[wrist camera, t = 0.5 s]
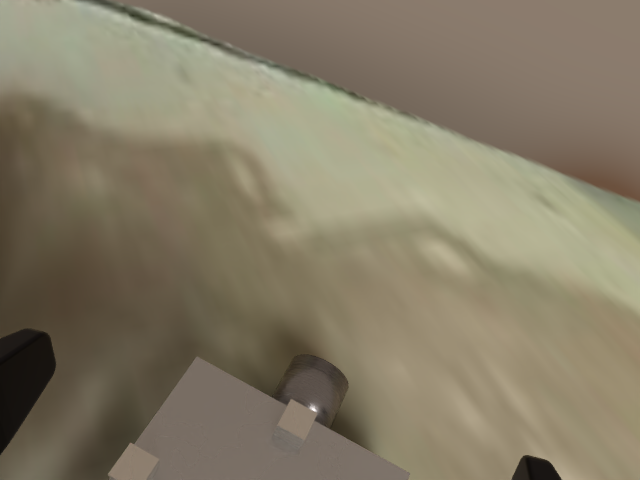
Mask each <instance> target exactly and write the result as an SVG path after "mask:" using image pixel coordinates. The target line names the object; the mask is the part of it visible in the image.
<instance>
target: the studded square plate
mask: <svg viewBox="0 0 640 480" xmlns="http://www.w3.org/2000/svg"><path fill="white" fill-rule="evenodd" d="M347 390H348V381H347V379H346V377H345V376H344V374H343V373H342V372H341V371H340V370H339V369H338V368H336V367H335V366H334V365H332V364H331V363H329V362H327V361H326V360H324V359H321V358H319V357H316V356H312V355H298V356H295V357H294V358H293V360H292V361H291V363H290V365H289V367H288V369H287V370H286V372H285V374H284V376H283V378H282V379H281V381H280V383H279V385H278V387H277V388H276V390H275V392H274V394H273V396H272V397H270V396H268V395H267V394H265V393H263V392H261V391H259V390H257V389H256V388H254V387H252V386H250V385H248V384H247V383H245V382H243V381H241V380H239V379H237V378H236V377H234V376H232V375H230V374H228V373H226V372H225V371H223V370H221V369H219V368H217V367H216V366H214V365H212V364H210V363H208V362H206V361H205V360H203V359H201V358H199V357H196V358H195V360H194V361H193V362H192V364H191V365H190V367H189V368H188V369H187V371H186V372H185V374H184V375H183V376H182V378H181V379H180V381H179V382H178V383H177V385H176V386H175V388H174V389H173V390H172V392H171V393H170V395H169V396H168V397H167V399H166V400H165V402H164V403H163V404H162V406H161V407H160V409H159V410H158V411H157V413H156V414H155V416H154V417H153V418H152V420H151V421H150V423H149V424H148V425H147V427H146V428H145V430H144V431H143V432H142V434H141V435H140V437H139V438H138V439H137V441H136V442H135V444H132V443H130V444H129V445H128V447H127V448H126V450H125V451H124V452H123V454H122V455H121V457H120V458H119V459H118V461H117V462H116V463H115V465H114V466H113V468H112V469H111V470H110V472H109V473H108V477H109V480H408V478H409V475H410V473H409V472H407V471H405V470H403V469H402V468H400V467H398V466H396V465H394V464H392V463H391V462H389V461H387V460H385V459H383V458H381V457H380V456H378V455H376V454H374V453H372V452H371V451H369V450H367V449H365V448H363V447H361V446H360V445H358V444H356V443H354V442H352V441H350V440H349V439H347V438H345V437H343V436H341V435H340V434H338V433H336V432H334V431H332V430H330V428H331V425H332V423H333V421H334V419H335V417H336V414H337V412H338V410H339V408H340V405H341V403H342V401H343V399H344V396H345V394H346V392H347Z"/></svg>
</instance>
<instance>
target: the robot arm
mask: <svg viewBox="0 0 640 480" xmlns="http://www.w3.org/2000/svg"><path fill="white" fill-rule="evenodd" d="M55 368H56V361H55V356H54V352H53V347H52V343H51V338H50V336H49V335H48V334H47V333H46V332H43V331H39V330H35V329H23V330H21V331H18V332H16V333H13V334H11V335H8V336H6V337H3V338H1V339H0V455H1V453H2V452H3V451H4V449H5V448H6V447H7V445H8V444H9V443H10V441H11V440H12V438H13V437H14V435H15V434H16V432H17V431H18V429H19V428H20V426H21V424H22V423H23V421H24V420H25V418H26V417H27V415H28V414H29V412H30V410H31V409H32V407H33V406H34V404H35V403H36V401H37V399H38V398H39V396H40V395H41V393H42V392H43V390H44V389H45V387H46V385H47V384H48V382H49V381H50V379H51V378H52V376H53V374H54V371H55ZM512 480H562V479H561V478H560V476H559V474H558V473H557V471H556V470H555V468H554V467H553V465H552V464H551V463H550V462H549V461H547V460H545V459H541V458H537V457H533V456H529V455H525V456H523V457H522V458H521V460H520V462H519V464H518V466H517V468H516V471H515V473H514V475H513V477H512Z"/></svg>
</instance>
